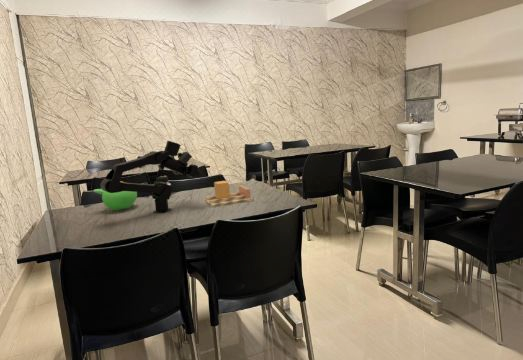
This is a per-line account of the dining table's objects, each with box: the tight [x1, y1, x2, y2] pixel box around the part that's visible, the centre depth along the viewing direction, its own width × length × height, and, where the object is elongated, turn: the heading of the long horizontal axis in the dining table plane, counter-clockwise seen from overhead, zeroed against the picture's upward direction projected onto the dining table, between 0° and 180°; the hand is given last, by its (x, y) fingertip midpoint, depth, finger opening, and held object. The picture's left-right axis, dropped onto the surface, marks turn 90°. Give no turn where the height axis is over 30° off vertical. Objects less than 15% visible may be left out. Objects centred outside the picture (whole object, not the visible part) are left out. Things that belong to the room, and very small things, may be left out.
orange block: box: [213, 180, 231, 199], centre depth 191 cm, size 6×6×9 cm
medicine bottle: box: [156, 175, 173, 198], centre depth 210 cm, size 7×7×12 cm
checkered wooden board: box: [203, 191, 254, 208], centre depth 193 cm, size 22×14×3 cm, turn 113°
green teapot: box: [93, 180, 138, 211], centre depth 188 cm, size 18×17×15 cm
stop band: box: [238, 184, 251, 199], centre depth 196 cm, size 2×12×5 cm, turn 23°
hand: (198, 175), depth 191 cm, fingers open, 9 cm apart
